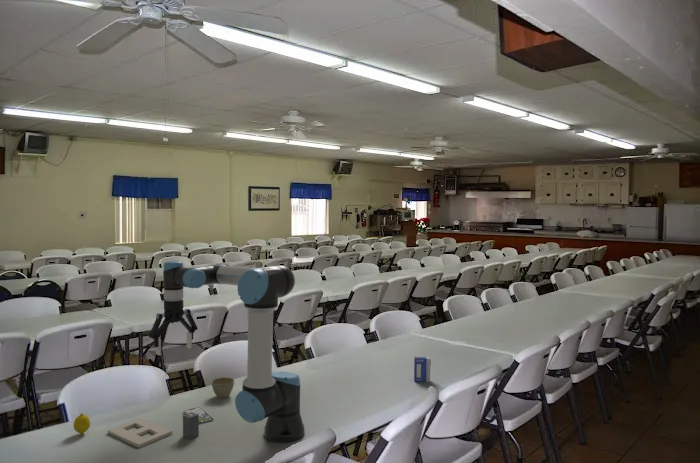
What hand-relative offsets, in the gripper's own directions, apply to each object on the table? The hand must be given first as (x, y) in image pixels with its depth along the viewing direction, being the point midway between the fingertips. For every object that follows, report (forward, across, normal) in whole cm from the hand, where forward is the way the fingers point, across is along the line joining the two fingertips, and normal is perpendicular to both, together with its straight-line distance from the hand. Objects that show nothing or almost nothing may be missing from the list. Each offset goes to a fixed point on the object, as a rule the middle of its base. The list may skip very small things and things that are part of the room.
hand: (174, 351), depth 212 cm
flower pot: (+27, -26, -4) cm, 37 cm away
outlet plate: (+27, +18, +6) cm, 32 cm away
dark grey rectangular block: (+27, +6, +21) cm, 35 cm away
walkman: (+27, -105, +50) cm, 119 cm away
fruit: (+27, +32, -10) cm, 43 cm away
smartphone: (+27, -6, +8) cm, 29 cm away
